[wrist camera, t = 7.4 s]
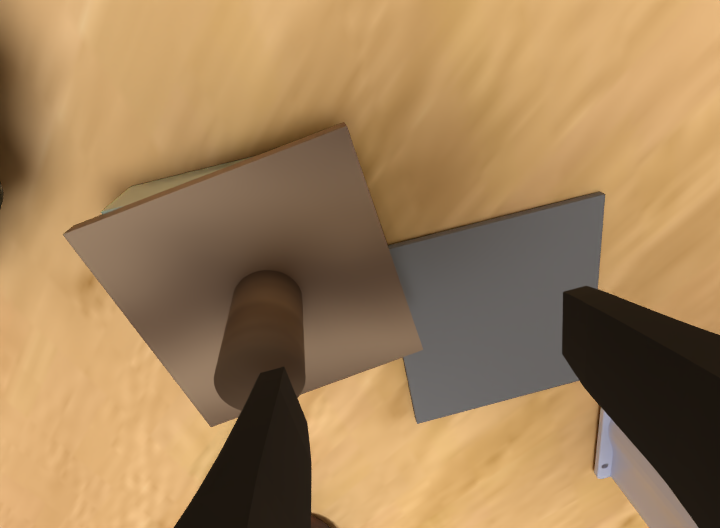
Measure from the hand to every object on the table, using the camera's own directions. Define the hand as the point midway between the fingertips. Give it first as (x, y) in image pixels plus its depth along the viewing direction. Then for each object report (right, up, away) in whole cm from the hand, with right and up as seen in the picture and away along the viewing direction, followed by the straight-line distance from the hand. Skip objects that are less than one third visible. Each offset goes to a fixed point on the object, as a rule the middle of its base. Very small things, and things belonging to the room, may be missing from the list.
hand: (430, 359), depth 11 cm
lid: (-5, +1, +6) cm, 8 cm away
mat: (+6, -1, +12) cm, 14 cm away
